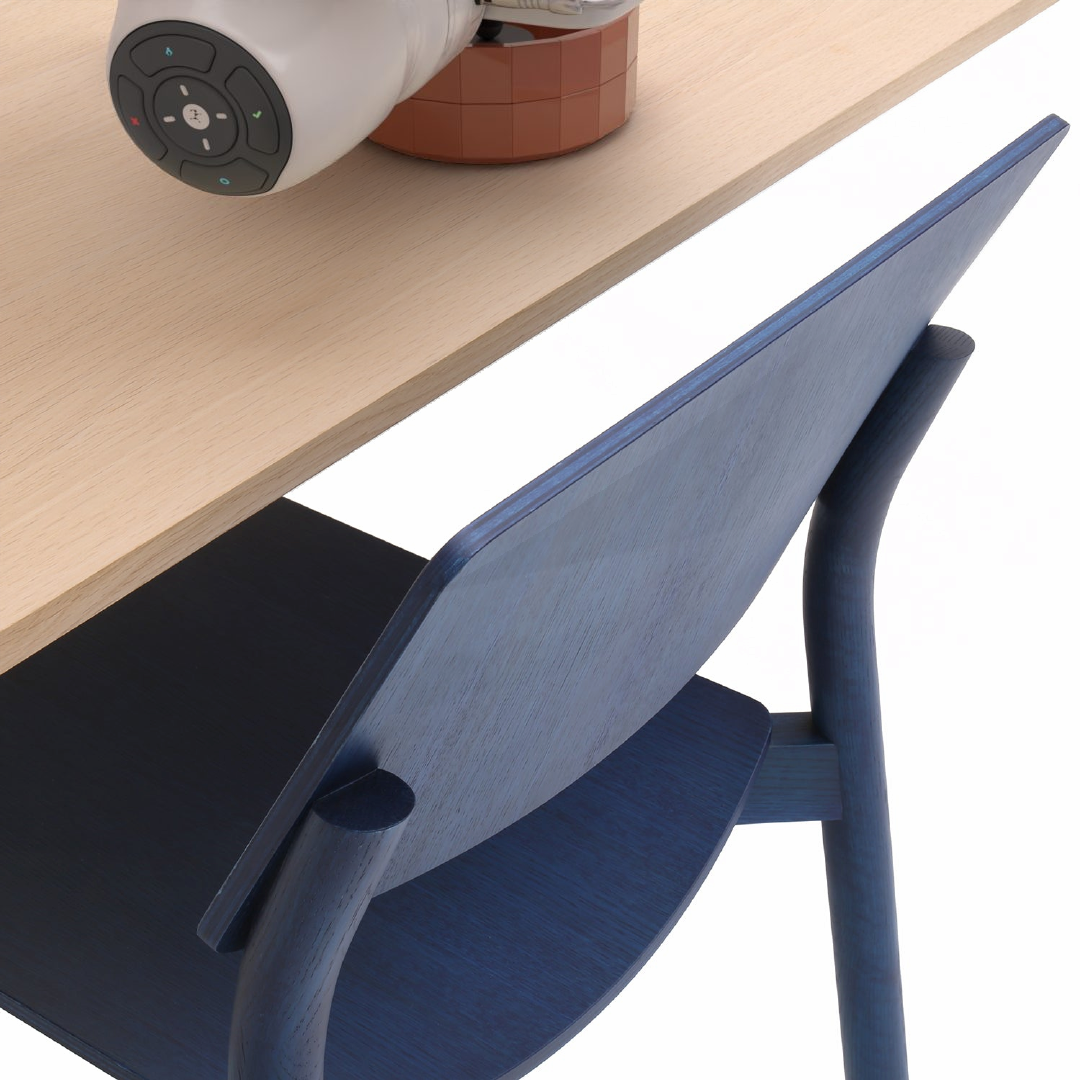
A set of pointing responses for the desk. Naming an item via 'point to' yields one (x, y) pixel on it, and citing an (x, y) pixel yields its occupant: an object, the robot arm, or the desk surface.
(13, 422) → the desk surface
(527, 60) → the bowl
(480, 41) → the black post
